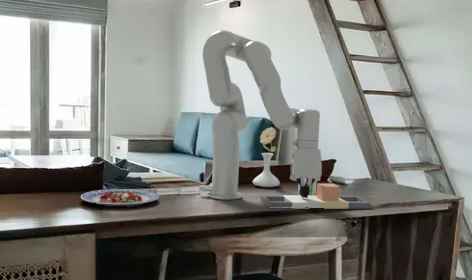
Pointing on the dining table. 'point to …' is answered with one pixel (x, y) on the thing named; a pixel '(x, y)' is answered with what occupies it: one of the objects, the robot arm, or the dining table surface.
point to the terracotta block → (328, 192)
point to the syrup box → (312, 188)
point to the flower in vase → (267, 161)
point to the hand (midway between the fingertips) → (304, 196)
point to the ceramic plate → (119, 197)
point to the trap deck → (315, 202)
